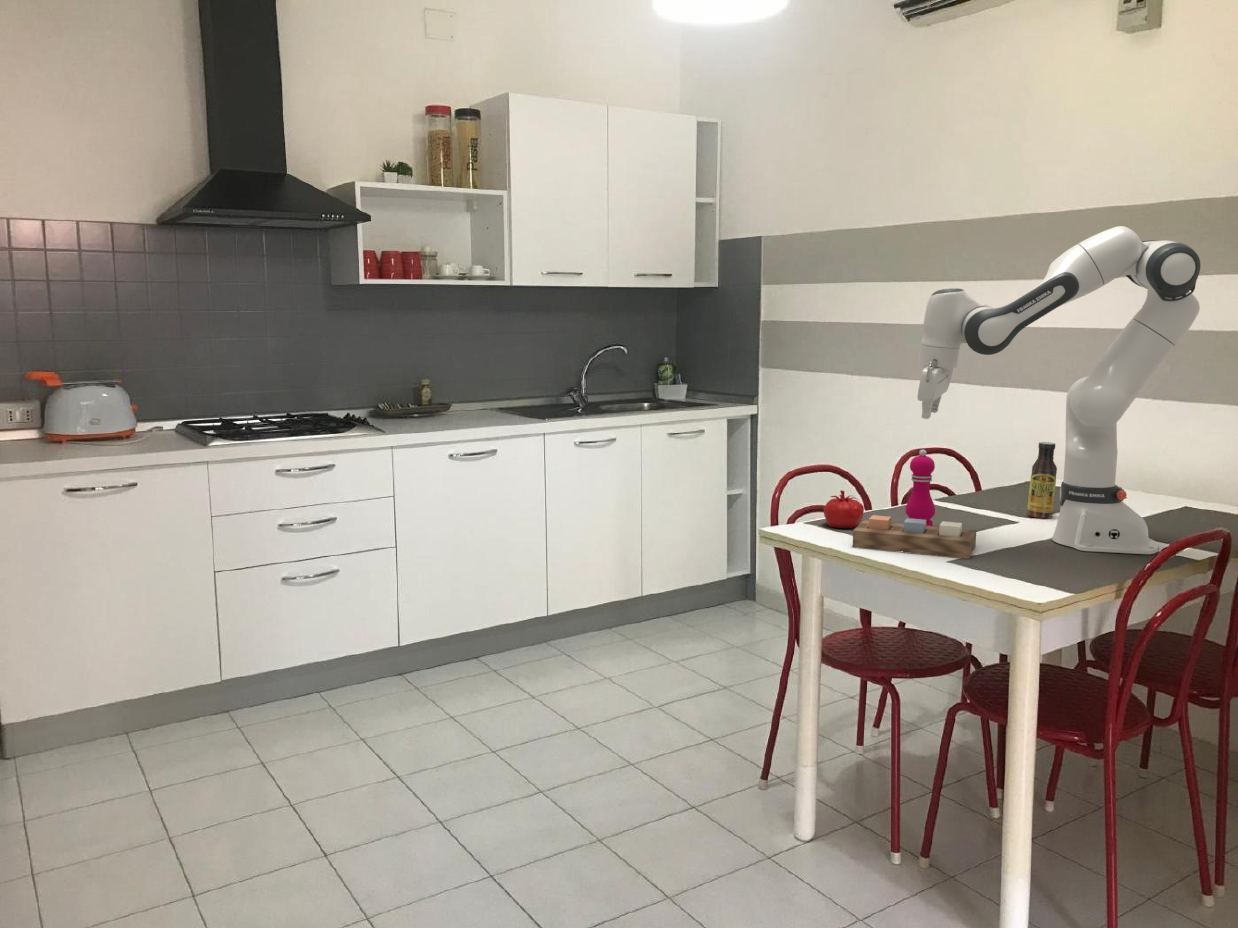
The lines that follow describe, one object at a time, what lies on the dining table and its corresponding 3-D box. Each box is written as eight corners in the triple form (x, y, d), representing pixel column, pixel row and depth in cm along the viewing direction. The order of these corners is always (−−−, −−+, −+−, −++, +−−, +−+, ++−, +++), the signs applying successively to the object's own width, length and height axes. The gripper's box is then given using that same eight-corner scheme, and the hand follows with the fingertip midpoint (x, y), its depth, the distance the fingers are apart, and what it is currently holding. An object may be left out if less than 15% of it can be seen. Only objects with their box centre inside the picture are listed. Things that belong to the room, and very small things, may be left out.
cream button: (961, 537, 231) (962, 522, 231) (958, 541, 227) (959, 526, 227) (941, 535, 233) (942, 521, 233) (938, 540, 229) (939, 525, 229)
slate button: (925, 534, 235) (926, 519, 234) (922, 538, 231) (923, 523, 230) (906, 532, 237) (907, 518, 236) (903, 536, 233) (903, 521, 232)
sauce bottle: (1026, 518, 264) (1031, 443, 260) (1026, 513, 270) (1031, 440, 266) (1053, 520, 261) (1059, 444, 258) (1053, 515, 267) (1058, 441, 264)
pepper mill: (935, 531, 249) (939, 452, 246) (905, 530, 251) (909, 451, 248) (932, 524, 256) (936, 447, 253) (903, 523, 258) (907, 447, 255)
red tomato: (860, 532, 250) (862, 496, 248) (820, 528, 253) (821, 493, 251) (865, 523, 259) (867, 488, 257) (826, 519, 262) (827, 485, 261)
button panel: (975, 546, 234) (976, 530, 233) (969, 558, 223) (970, 541, 223) (863, 535, 245) (863, 520, 244) (852, 547, 234) (853, 530, 234)
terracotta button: (890, 531, 238) (891, 516, 237) (887, 535, 234) (887, 520, 234) (872, 529, 240) (872, 515, 239) (868, 533, 236) (868, 518, 235)
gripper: (944, 364, 225) (935, 424, 229) (959, 355, 243) (950, 410, 246) (915, 360, 228) (907, 420, 231) (932, 351, 246) (924, 407, 249)
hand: (929, 415), depth 239 cm, fingers open, 8 cm apart
